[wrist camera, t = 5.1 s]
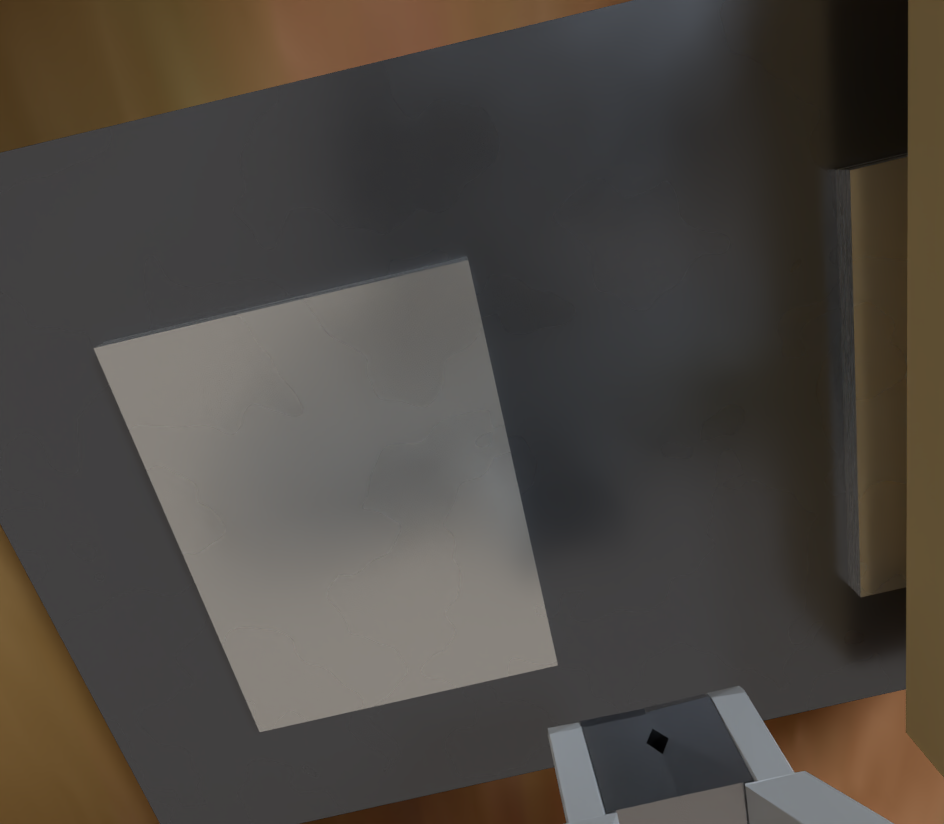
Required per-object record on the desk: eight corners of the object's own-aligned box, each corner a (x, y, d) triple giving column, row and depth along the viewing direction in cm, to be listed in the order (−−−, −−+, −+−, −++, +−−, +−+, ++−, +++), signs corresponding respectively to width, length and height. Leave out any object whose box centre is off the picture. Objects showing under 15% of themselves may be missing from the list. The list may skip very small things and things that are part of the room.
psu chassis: (-135, -7, 12) (-349, -67, 9) (1258, -348, 12) (1591, -549, 8) (213, 742, 18) (167, 873, 15) (1135, 535, 18) (1298, 623, 14)
